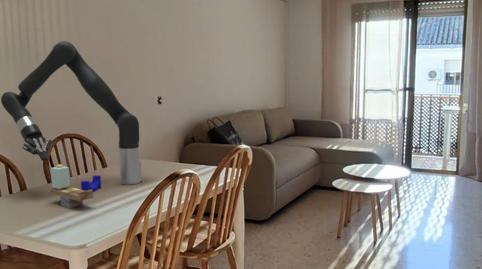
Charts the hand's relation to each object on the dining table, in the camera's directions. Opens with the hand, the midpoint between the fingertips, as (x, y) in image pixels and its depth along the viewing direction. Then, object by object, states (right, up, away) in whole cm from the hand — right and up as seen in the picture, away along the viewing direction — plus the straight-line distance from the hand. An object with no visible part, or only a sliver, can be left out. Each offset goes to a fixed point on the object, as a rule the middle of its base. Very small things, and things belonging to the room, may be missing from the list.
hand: (46, 160), depth 193 cm
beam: (+14, -18, -8) cm, 24 cm away
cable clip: (+14, -15, +14) cm, 25 cm away
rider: (+8, -11, -5) cm, 14 cm away
